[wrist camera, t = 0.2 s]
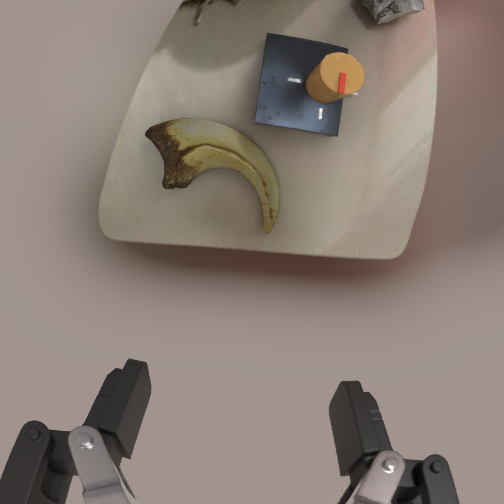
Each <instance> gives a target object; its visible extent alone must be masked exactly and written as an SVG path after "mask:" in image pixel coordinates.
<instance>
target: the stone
mask: <svg viewBox="0 0 504 504" xmlns="http://www.w3.org/2000/svg"><path fill="white" fill-rule="evenodd" d="M359 1H360V2H361V3H362V5H364V6H365V7H366V8H367V9H368V10H369V12H370V13H371V14H372V15H373V17H374V19H375V21H376V23H377V24H383V23H388V22H390V21H391V20H393V19H396V18H400V17H404V16H407V15H410V14H414V13H417V12H420V11H421V10H424V3H423V1H422V0H359Z"/></svg>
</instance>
